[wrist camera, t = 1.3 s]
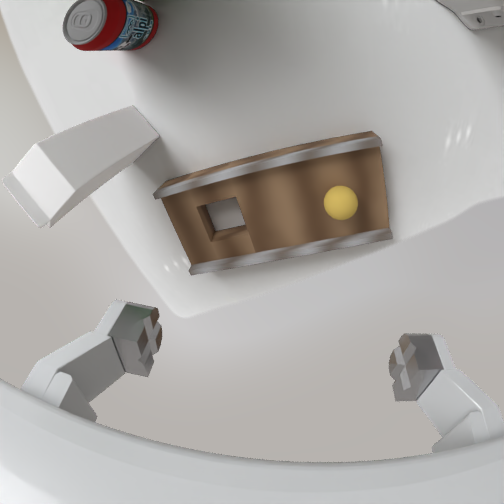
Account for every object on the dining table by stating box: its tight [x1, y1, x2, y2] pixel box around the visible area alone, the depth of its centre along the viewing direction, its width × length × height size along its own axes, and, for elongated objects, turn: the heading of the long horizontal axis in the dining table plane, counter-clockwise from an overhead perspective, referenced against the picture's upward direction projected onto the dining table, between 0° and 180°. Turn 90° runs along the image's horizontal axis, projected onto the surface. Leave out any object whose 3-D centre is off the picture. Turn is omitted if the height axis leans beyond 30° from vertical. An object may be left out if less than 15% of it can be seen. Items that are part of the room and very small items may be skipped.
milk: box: [2, 105, 159, 228], centre depth 28 cm, size 6×6×22 cm
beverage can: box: [63, 0, 158, 51], centre depth 24 cm, size 7×7×12 cm
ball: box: [324, 186, 358, 220], centre depth 34 cm, size 4×4×4 cm
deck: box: [153, 131, 393, 275], centre depth 39 cm, size 28×13×4 cm, turn 107°
